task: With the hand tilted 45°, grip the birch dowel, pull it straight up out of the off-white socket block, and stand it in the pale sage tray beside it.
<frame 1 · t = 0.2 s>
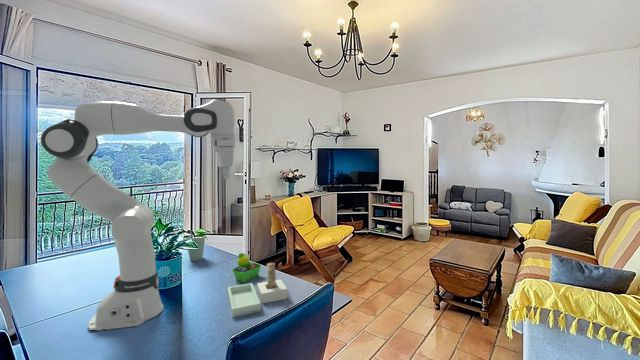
hand: (224, 178, 117), 48 cm above the table, tool pointing down, fingers open, 8 cm apart
socket block: (272, 295, 121), on the table
dowel: (271, 280, 120), in the socket block
fruit basket: (246, 277, 140), on the table
tray: (243, 302, 116), on the table
beige plant pot: (196, 259, 166), on the table
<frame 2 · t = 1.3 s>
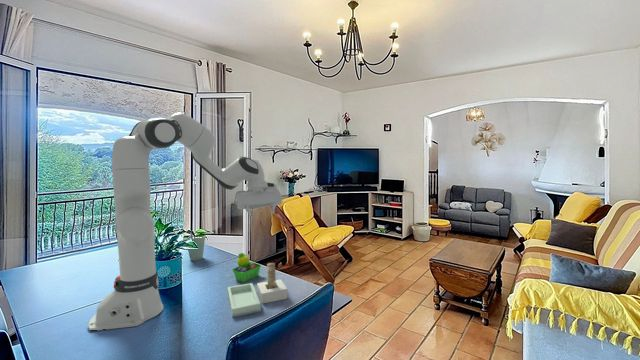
hand: (262, 214, 132), 31 cm above the table, tool tilted 45°, fingers open, 8 cm apart
nothing on the table moved.
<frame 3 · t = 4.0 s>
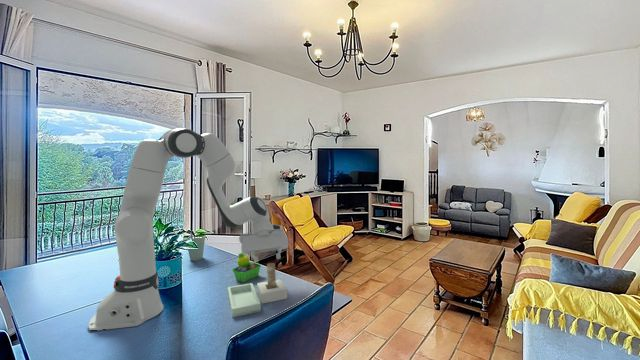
hand: (267, 259, 126), 13 cm above the table, tool tilted 45°, fingers open, 8 cm apart
nothing on the table moved.
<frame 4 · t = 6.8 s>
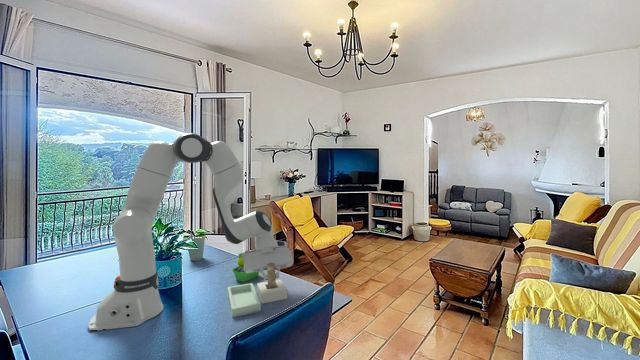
hand: (271, 279, 120), 7 cm above the table, tool tilted 45°, fingers closed on dowel, 3 cm apart
dowel: (271, 280, 120), in the socket block, touching gripper
everything else where it was.
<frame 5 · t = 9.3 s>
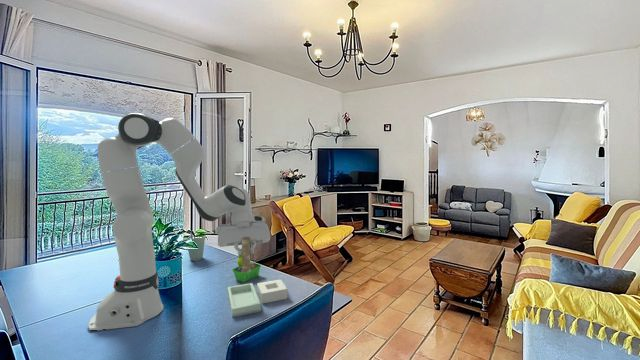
hand: (246, 253, 114), 19 cm above the table, tool tilted 45°, fingers closed on dowel, 3 cm apart
dowel: (246, 254, 115), point 19 cm above the table, touching gripper
everything else where it was.
when the fingers open (10 cm above the table, at t = 12.2 s): dowel drops 2 cm, resting on tray.
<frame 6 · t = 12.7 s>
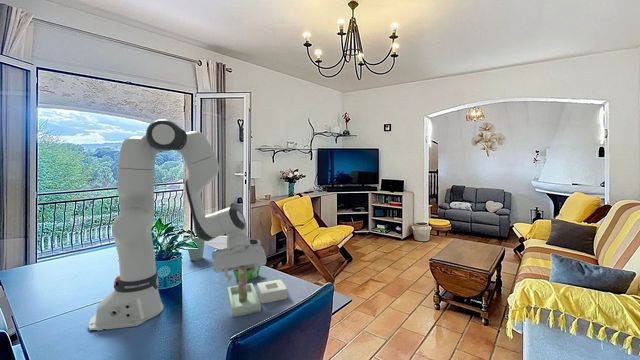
hand: (242, 278, 114), 10 cm above the table, tool tilted 45°, fingers open, 8 cm apart
dowel: (242, 283, 115), in the tray, point 7 cm above the table
everything else where it was.
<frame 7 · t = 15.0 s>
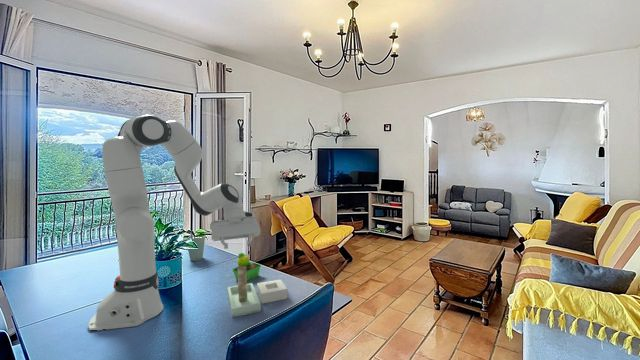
hand: (237, 246, 125), 19 cm above the table, tool tilted 45°, fingers open, 8 cm apart
nothing on the table moved.
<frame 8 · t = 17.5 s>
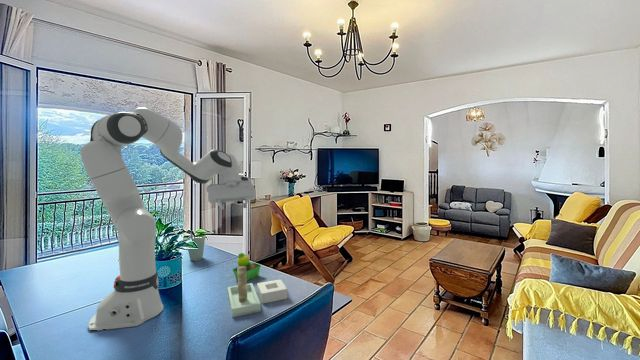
hand: (233, 208, 128), 34 cm above the table, tool tilted 45°, fingers open, 8 cm apart
nothing on the table moved.
at the end: dowel inside the target area on the tray (0.0 cm from its centre), point 7.3 cm above the tray's base; the gripper is holding nothing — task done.
